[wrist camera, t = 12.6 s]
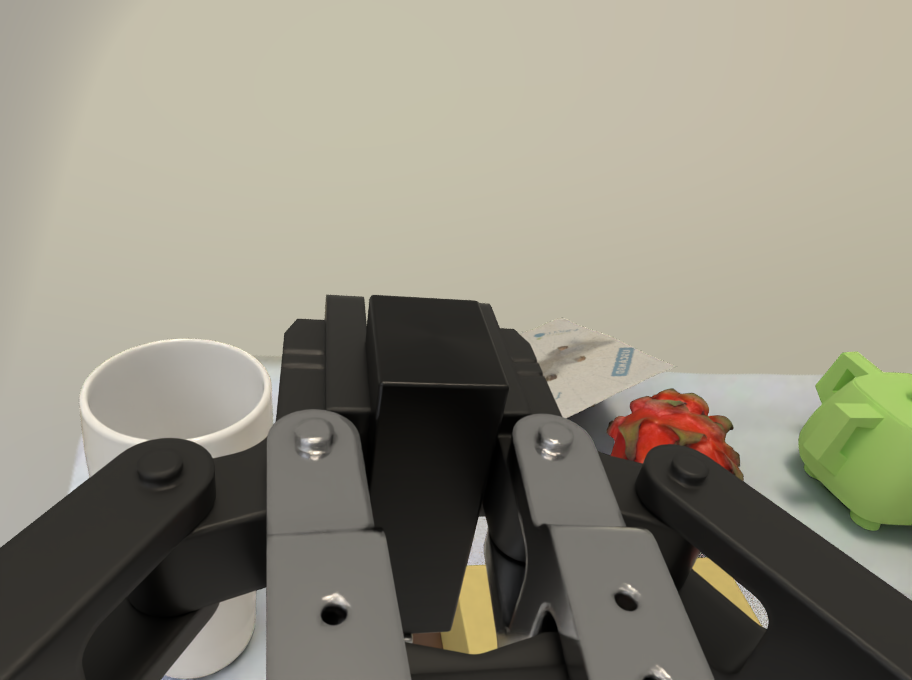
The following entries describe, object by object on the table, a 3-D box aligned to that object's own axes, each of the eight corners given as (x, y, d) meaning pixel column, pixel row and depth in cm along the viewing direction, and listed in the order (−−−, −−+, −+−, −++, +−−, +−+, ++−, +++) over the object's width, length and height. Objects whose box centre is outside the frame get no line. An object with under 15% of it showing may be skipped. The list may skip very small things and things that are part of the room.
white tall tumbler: (113, 715, 29) (59, 455, 21) (128, 584, 34) (89, 337, 27) (275, 684, 31) (281, 438, 23) (266, 566, 37) (267, 333, 29)
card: (572, 364, 61) (561, 314, 59) (687, 425, 47) (678, 362, 46) (458, 413, 58) (444, 361, 56) (547, 493, 44) (532, 428, 42)
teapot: (775, 502, 48) (838, 391, 42) (789, 421, 56) (843, 320, 51) (962, 584, 44) (1057, 473, 38) (946, 483, 53) (1021, 381, 47)
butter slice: (514, 620, 35) (533, 562, 33) (540, 717, 31) (563, 659, 29) (439, 624, 34) (452, 565, 32) (454, 724, 30) (471, 665, 28)
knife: (394, 729, 18) (478, 296, 11) (403, 840, 16) (513, 392, 9) (327, 734, 18) (369, 289, 11) (326, 848, 16) (379, 388, 9)
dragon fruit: (630, 455, 52) (679, 606, 43) (561, 404, 47) (600, 559, 38) (729, 397, 48) (806, 548, 39) (664, 336, 44) (733, 489, 35)
